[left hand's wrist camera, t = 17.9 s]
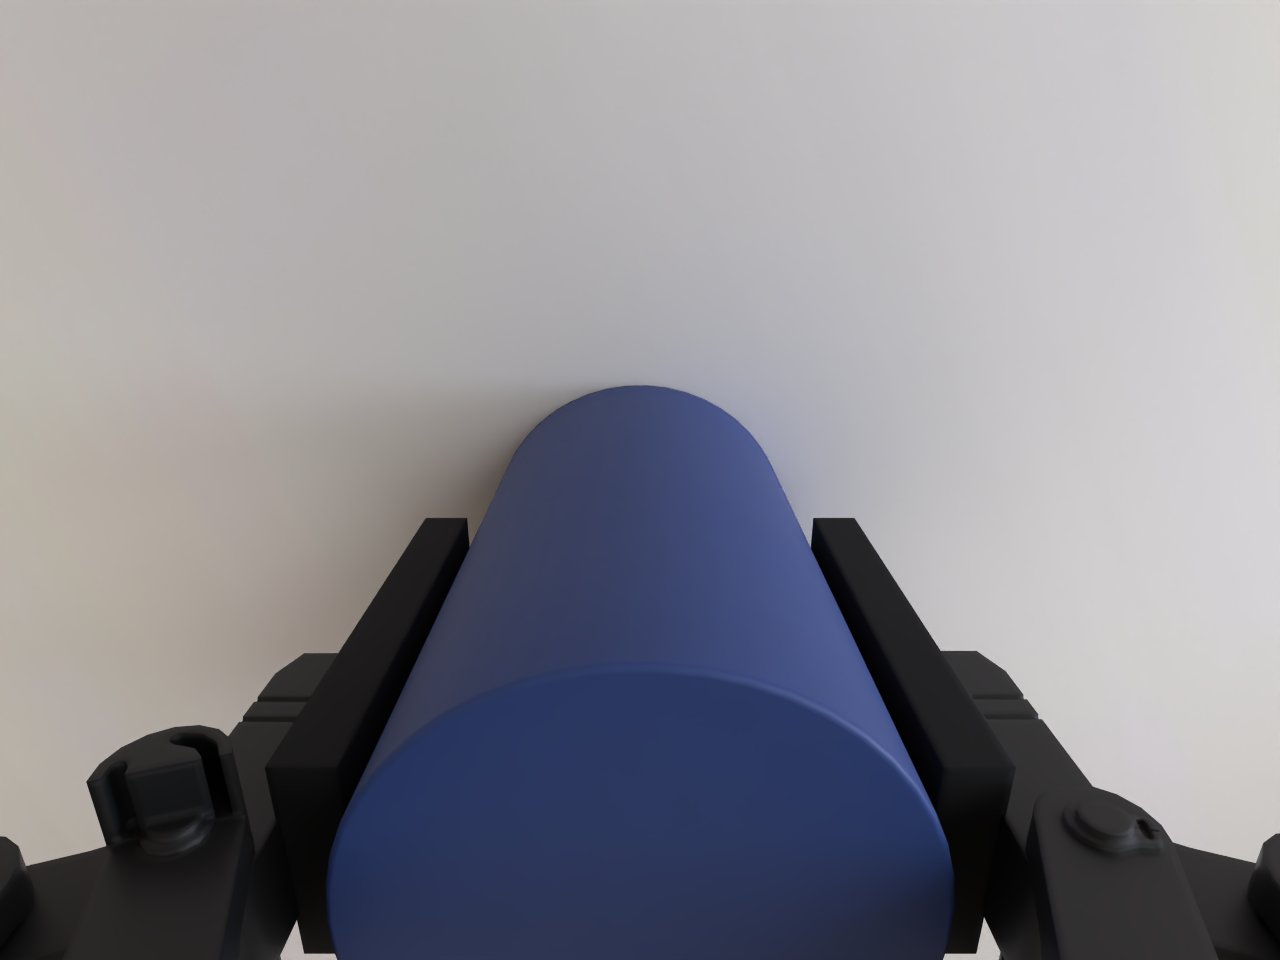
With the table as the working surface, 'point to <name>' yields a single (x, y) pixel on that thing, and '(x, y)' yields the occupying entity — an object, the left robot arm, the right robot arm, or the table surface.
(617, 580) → the can
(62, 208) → the table surface
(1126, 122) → the table surface
